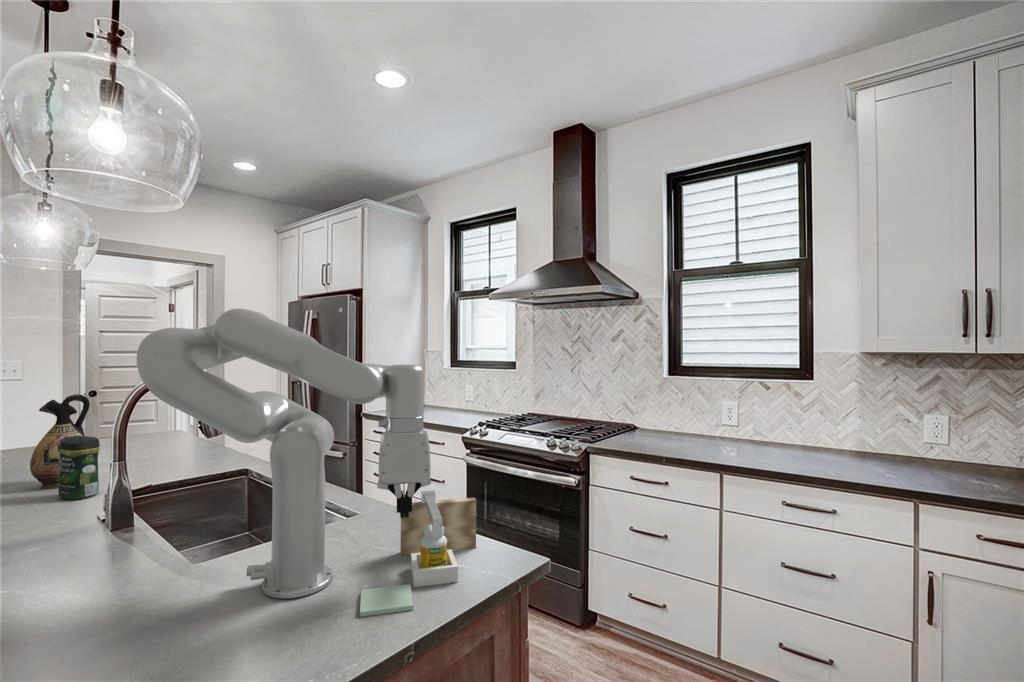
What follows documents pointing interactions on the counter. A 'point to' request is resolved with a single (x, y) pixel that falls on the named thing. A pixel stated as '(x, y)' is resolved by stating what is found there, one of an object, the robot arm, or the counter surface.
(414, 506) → the wooden block
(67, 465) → the coffee jar
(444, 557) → the supplement bottle
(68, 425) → the ceramic jug
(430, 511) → the bar
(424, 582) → the hollow square frame
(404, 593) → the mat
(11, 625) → the counter surface
